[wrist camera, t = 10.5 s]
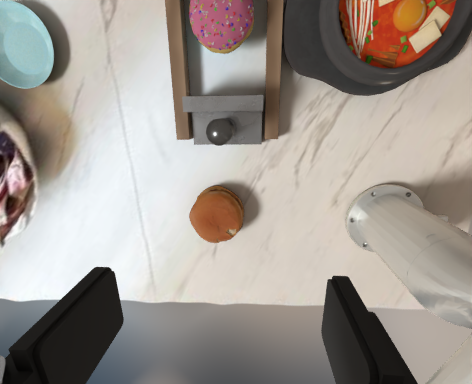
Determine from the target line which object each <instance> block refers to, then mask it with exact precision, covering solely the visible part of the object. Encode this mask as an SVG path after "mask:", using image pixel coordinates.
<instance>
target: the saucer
mask: <svg viewBox="0 0 472 384" xmlns="http://www.w3.org/2000/svg"><path fill="white" fill-rule="evenodd" d="M53 64H54V49H53V44H52V40H51V37H50V34H49V32H48V30H47V28H46V26H45V25H44V23H43V22H42V21H41V19H40V18H39V17H38V16H37V15H36V14H35V13H34V12H33V11H32V10H31V9H29V8H28V7H27V6H25V5H23V4H21V3H18V2H15V1H11V0H0V78H1V79H2V80H3V81H5V82H6V83H8V84H10V85H12V86H15V87H18V88H25V89H26V88H34V87H37V86H39V85H41V84H42V83H43V82H45V81H46V79H47V78H48V77H49V75H50V73H51V71H52V68H53Z"/></svg>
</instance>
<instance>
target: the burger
mask: <svg viewBox="0 0 472 384" xmlns="http://www.w3.org/2000/svg"><path fill="white" fill-rule="evenodd" d="M243 217H244V209H243V205H242V202H241V200H240V199H239V198H238V197H237V195H235V194H234V193H233V192H231V191H229V190H227V189H225V188H223V187H221V186H213V187H210V188H207V189H205V190H204V191H203V192H202V193H201V194H200V195H199V196H198V197H197V201H196V202H195V204H194V205H193V207H192V209H191V211H190V215H189V218H190V221H191V224H192V225H193V227H194V229H195V230H196V232H197V233H198V234H199V236H200V237H202V238H203V239H204V240H206V241H208V242H212V243H219V242H220V241H227V240H230V239H231V238H232V237H234V236H235V235H236V233H237V232H238V231H239V230H240V229H241V227H242V224H243Z"/></svg>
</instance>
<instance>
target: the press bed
mask: <svg viewBox="0 0 472 384" xmlns="http://www.w3.org/2000/svg"><path fill="white" fill-rule="evenodd" d="M165 6H166V17H167V29H168V41H169V52H170V64H171V75H172V87H173V99H174V110H175V122H176V133H177V140H189V139H192V138H193V131H192V115H191V112H183V101H182V97H186V96H190V85H189V70H188V55H187V40H186V25H185V10H184V0H165ZM282 22H283V0H267V43H266V87H265V131H264V138H265V139H278V123H279V98H280V72H281V47H282Z"/></svg>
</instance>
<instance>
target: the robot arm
mask: <svg viewBox="0 0 472 384" xmlns="http://www.w3.org/2000/svg"><path fill="white" fill-rule="evenodd" d="M372 192H373V193H372ZM371 193H372V194H371ZM351 218H352V219H351ZM346 228H347V232H348V234H349V235H350V237H351V238H352V240H353V241H354V242H355V243H356V244H357V245H358V246H360V247H361V248H363V249H365V250H368V251H371V252H375V253H376V254H377V255H378V256H379V257H380V258H381V260H382V261H383V262H384V263H385V264H386V265H387V266H388V268H389V269H390V270H391V271H392V272H393V273H394V274H395V276H396V277H397V278H398V279H399V280H400V281H401V282H402V284H403V285H404V286H405V287H406V288H407V289H408V291H409V292H410V293H411V294H412V295H413V296H414V297H415V298H416V300H417V301H418V302H419V303H420V304H421V305H422V306H423V307H424V308H425V309H426V310H428V311H429V312H430V313H432V314H433V315H435V316H437V317H438V318H440V319H442V320H445V321H447V322H450V323H452V324H455V325H459V326H463V327H466V328H471V329H472V235H470V234H468V233H466V232H464V231H463V230H461V229H459V228H457V227H455V226H454V225H452V224H450V223H448V217H447V216H446V215H434V214H432V213H431V212H429V211H427V210H425V209H424V205H423V203H422V201H421V199H420V198H419V197H418V195H416V194H415V193H414V192H413V191H411V190H409V189H407V188H405V187H403V186H400V185H394V184H385V185H378V186H375V187H372V188H370V189H368V190H366V191H364V192H363V193H362V194H360V195H359V196H358V197H357V198H356V199H355V200H354V201H353V203H352V204H351V206H350V207H349V210H348V212H347V216H346ZM122 324H123V313H122V308H121V303H120V298H119V293H118V288H117V282H116V277H115V273H114V271H112V270H111V269H110V268H109V267H95V268H94V269H93V270H91V271H90V272H89V273H88V274H87V275H86V276H85V277H84V278H83V279H82V280H81V281H80V282H79V283H78V284H77V285H76V286H75V287H74V288H72V289H71V290H70V291H69V292H68V293H67V294H66V295H65V296H64V297H63V298H62V299H61V300H60V301H59V302H58V303H57V304H56V305H55V306H54V307H52V308H51V309H50V310H49V311H48V312H47V313H46V314H45V315H44V316H43V317H42V318H41V319H40V320H39V321H38V322H37V323H36V324H35V325H33V326H32V328H30V329H29V331H27V332H26V333H25V334H24V335H23V336H22V337H21V338H20V339H19V340H18V341H17V342H16V343H14V344H13V346H11V347H10V348H9V352H10V354H9V355H8V356H7V357H6V358H3V357H2V356H0V384H86V382H87V381H88V379H89V378H90V376H91V374H92V373H93V371H94V370H95V368H96V367H97V365H98V363H99V362H100V360H101V359H102V357H103V355H104V354H105V352H106V351H107V349H108V348H109V346H110V344H111V343H112V341H113V340H114V338H115V336H116V335H117V333H118V332H119V330H120V329H121V326H122ZM322 338H323V341H324V345H325V348H326V352H327V355H328V358H329V362H330V365H331V368H332V372H333V375H334V378H335V382H336V384H418V383H417V382H416V380H415V378H414V377H413V375H412V374H411V372H410V370H409V368H408V367H407V365H406V363H405V362H404V360H403V358H402V357H401V355H400V353H399V352H398V350H397V348H396V347H395V345H394V343H393V342H392V340H391V338H390V337H389V335H388V333H387V332H386V330H385V329H384V327H383V325H382V324H381V322H380V321H379V319H378V317H377V316H376V314H375V313H373V312H368V310H367V309H366V307H365V305H364V303H363V302H362V300H361V298H360V296H359V295H358V293H357V291H356V289H355V288H354V286H353V284H352V282H351V281H350V279H349V277H347V276H333V277H332V279H328V282H327V289H326V297H325V305H324V313H323V322H322ZM425 384H472V333H471V334H470V336H469V337H468V338H467V339H466V340H465V341H464V342H463V343H462V345H461V347H460V348H459V349H458V350H457V352H456V353H455V354H454V355H453V356H452V357H451V358H450V359H449V360H448V361H447V362H446V363H445V364H444V365H443V366H442V367H441V368H440V369H439V370H438V371H437V372H436V373H435V374H434V375H433V376H432V377H431V378H430V379H429V380H428V381H427V382H426V383H425Z"/></svg>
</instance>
